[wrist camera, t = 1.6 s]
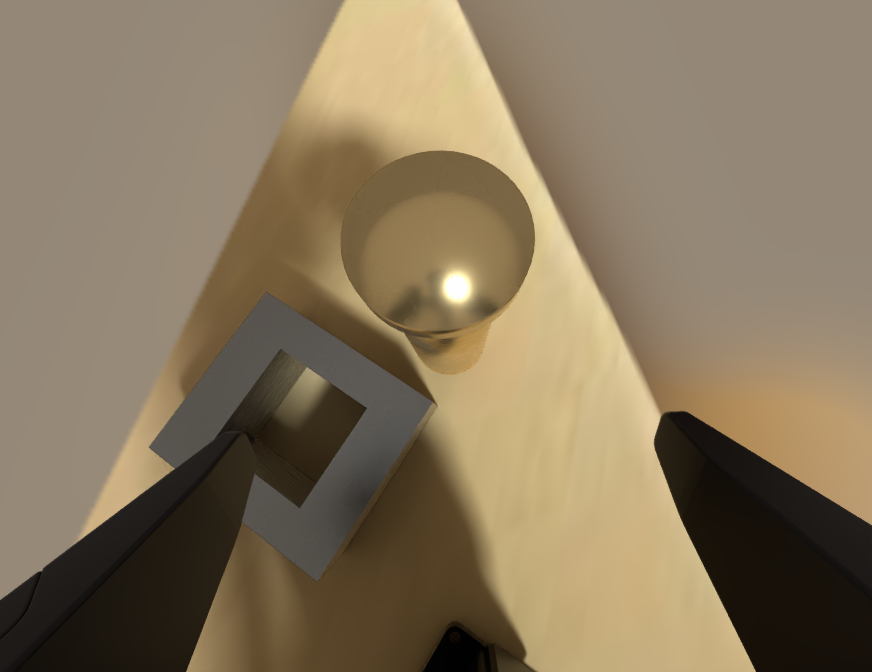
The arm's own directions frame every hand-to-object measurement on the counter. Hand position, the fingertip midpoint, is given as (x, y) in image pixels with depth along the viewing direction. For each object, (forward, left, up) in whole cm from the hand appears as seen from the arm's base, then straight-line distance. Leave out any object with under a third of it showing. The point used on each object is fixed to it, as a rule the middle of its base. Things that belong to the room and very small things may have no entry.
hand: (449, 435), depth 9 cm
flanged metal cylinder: (+4, +3, -13) cm, 14 cm away
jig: (-4, +6, -13) cm, 16 cm away
